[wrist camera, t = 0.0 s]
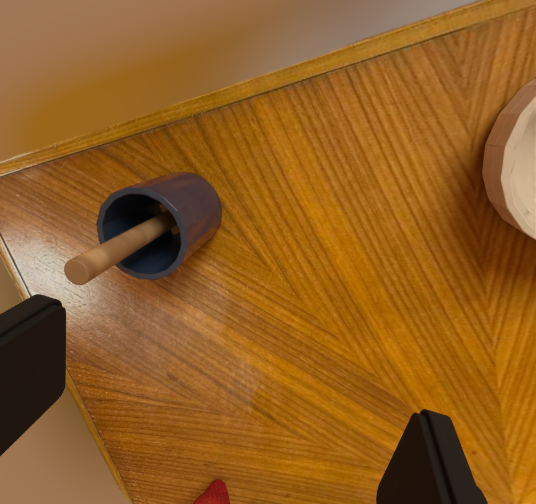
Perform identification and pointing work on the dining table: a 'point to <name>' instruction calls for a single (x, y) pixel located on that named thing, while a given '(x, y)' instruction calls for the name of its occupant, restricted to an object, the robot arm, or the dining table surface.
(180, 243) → the holder
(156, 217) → the stirring stick
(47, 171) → the dining table surface
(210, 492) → the fruit
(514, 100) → the bowl
